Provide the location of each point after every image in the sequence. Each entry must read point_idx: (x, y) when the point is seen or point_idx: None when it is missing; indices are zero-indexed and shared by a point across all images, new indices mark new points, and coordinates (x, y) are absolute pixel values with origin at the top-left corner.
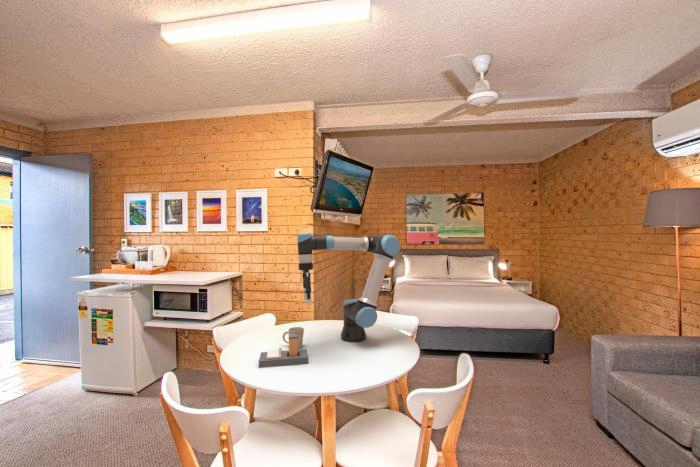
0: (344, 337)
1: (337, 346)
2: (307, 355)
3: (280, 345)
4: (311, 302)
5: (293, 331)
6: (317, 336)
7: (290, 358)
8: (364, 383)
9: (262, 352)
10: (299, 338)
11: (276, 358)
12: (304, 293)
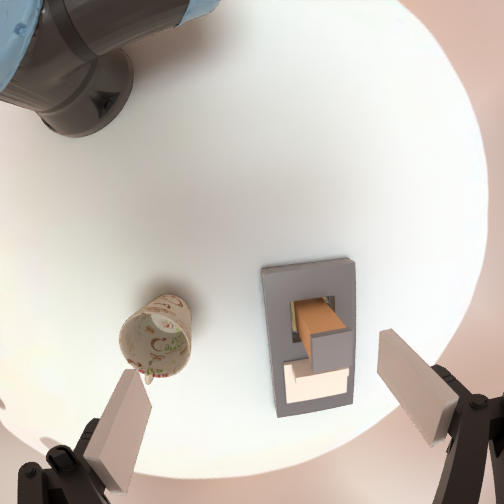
0: (107, 116)
1: (174, 146)
2: (336, 266)
3: (318, 377)
4: (403, 340)
5: (189, 356)
6: (51, 237)
7: (353, 322)
8: (470, 113)
9: (278, 413)
10: (185, 317)
11: None
12: (134, 448)
